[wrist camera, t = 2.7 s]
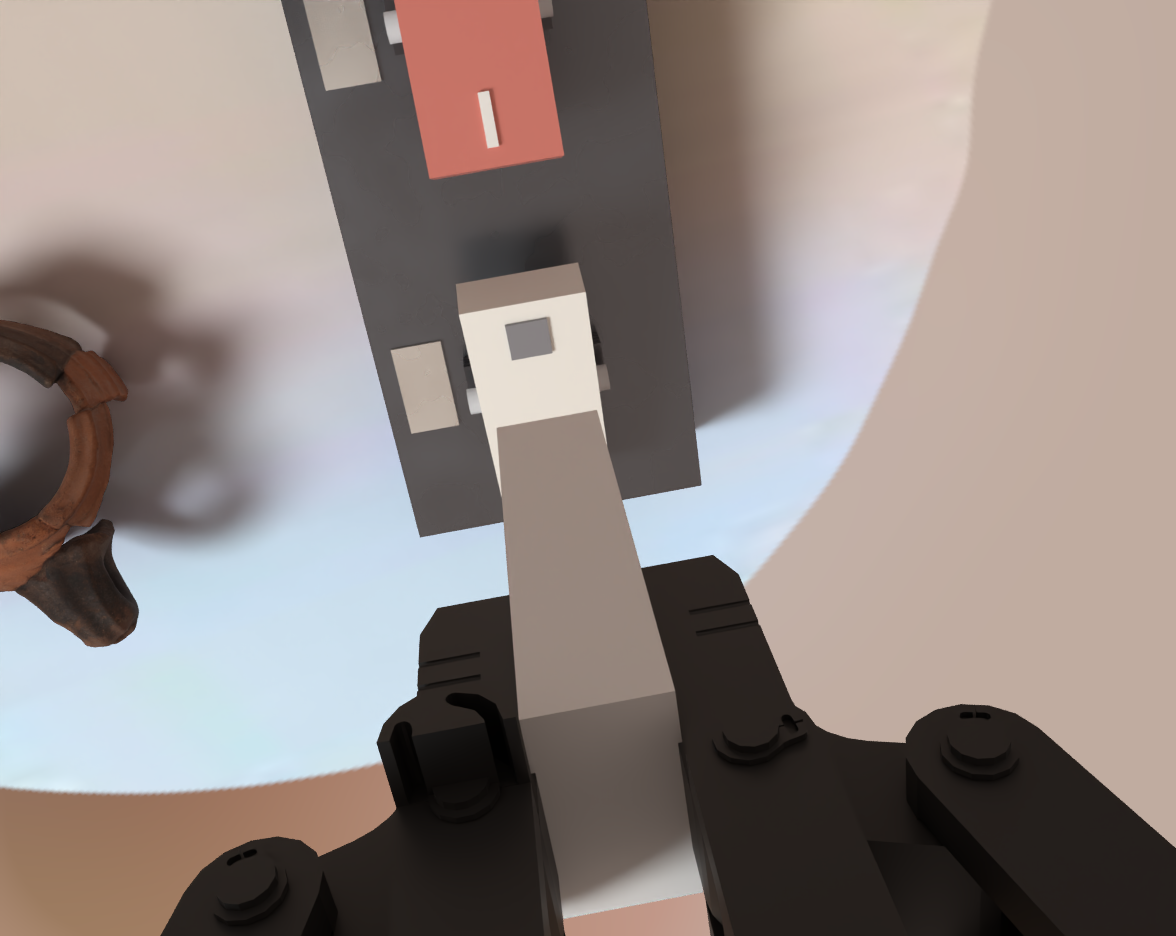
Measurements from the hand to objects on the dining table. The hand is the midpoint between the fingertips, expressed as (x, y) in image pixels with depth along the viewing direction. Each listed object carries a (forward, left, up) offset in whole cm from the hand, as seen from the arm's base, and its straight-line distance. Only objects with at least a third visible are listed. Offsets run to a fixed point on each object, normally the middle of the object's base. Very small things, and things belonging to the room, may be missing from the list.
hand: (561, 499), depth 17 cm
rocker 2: (+6, 0, -17) cm, 18 cm away
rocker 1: (-5, 0, -17) cm, 18 cm away
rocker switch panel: (-2, 0, -23) cm, 23 cm away
